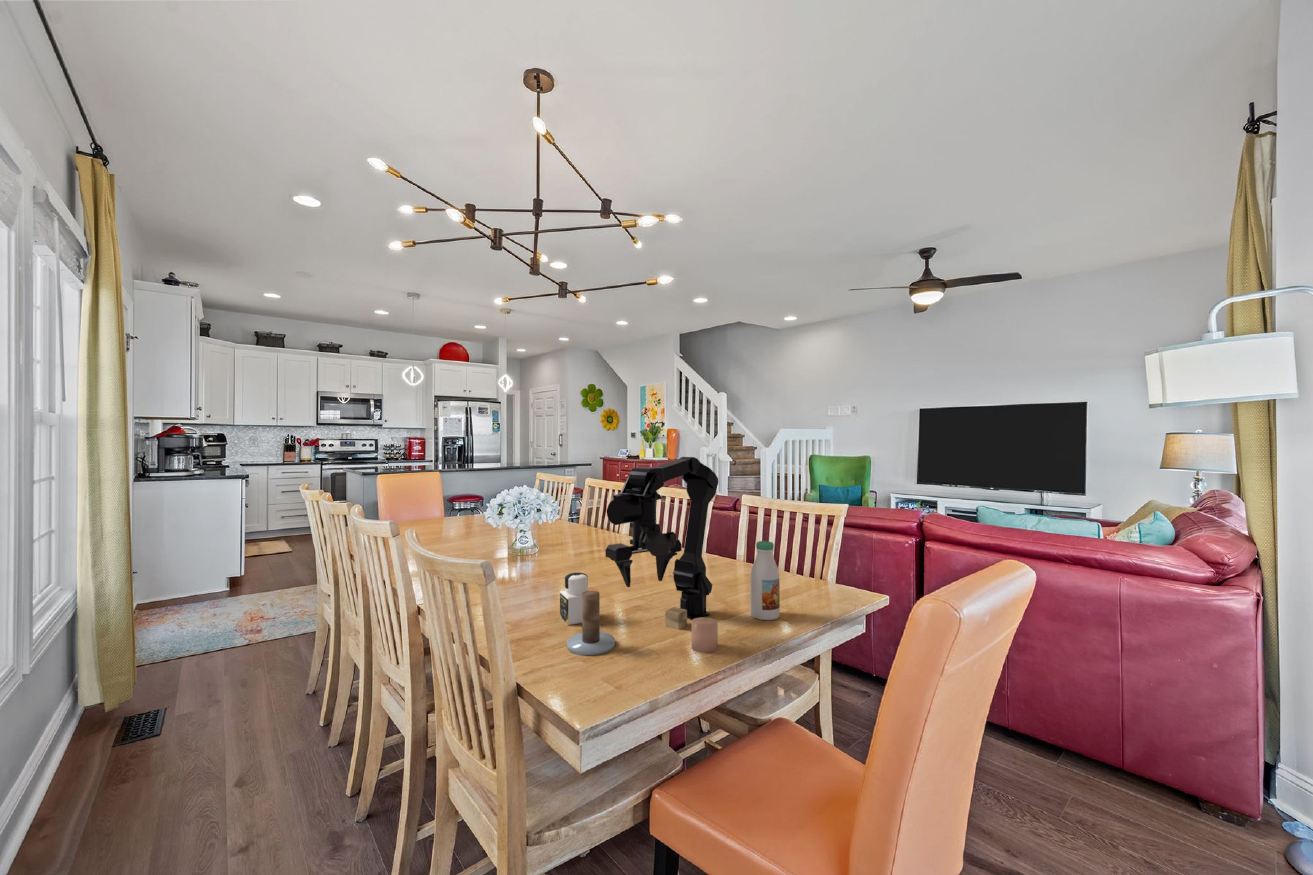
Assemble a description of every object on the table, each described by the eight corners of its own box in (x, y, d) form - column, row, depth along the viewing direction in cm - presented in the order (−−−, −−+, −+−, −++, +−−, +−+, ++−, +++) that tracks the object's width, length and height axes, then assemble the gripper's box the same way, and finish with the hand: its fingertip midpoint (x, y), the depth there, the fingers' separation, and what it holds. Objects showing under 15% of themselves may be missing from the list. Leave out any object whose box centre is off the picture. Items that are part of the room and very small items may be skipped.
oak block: (673, 622, 138) (673, 606, 138) (686, 625, 136) (686, 609, 136) (665, 626, 135) (665, 611, 135) (678, 630, 132) (678, 614, 132)
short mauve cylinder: (706, 640, 125) (706, 615, 125) (723, 649, 120) (723, 623, 120) (686, 646, 122) (686, 620, 122) (702, 655, 117) (702, 628, 117)
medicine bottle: (559, 617, 142) (559, 572, 142) (584, 612, 145) (584, 569, 145) (567, 625, 135) (567, 579, 135) (593, 621, 139) (593, 575, 138)
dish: (600, 633, 130) (600, 628, 130) (623, 647, 121) (623, 642, 121) (559, 643, 124) (559, 637, 124) (580, 659, 115) (580, 653, 115)
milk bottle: (750, 620, 139) (750, 544, 139) (750, 610, 147) (750, 539, 146) (780, 621, 138) (780, 545, 138) (778, 612, 145) (778, 539, 145)
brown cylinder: (599, 636, 125) (599, 590, 125) (600, 642, 121) (599, 595, 121) (582, 637, 124) (582, 591, 124) (582, 644, 120) (582, 596, 120)
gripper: (628, 528, 115) (628, 599, 115) (695, 520, 126) (695, 585, 126) (604, 521, 124) (604, 587, 125) (668, 514, 135) (668, 575, 135)
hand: (644, 583), depth 127 cm, fingers open, 9 cm apart
